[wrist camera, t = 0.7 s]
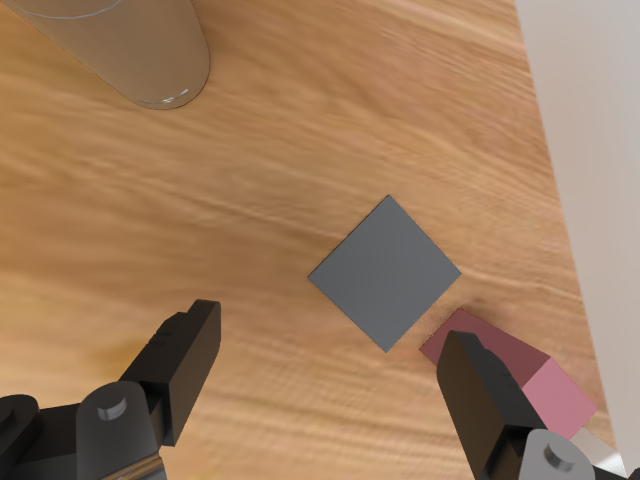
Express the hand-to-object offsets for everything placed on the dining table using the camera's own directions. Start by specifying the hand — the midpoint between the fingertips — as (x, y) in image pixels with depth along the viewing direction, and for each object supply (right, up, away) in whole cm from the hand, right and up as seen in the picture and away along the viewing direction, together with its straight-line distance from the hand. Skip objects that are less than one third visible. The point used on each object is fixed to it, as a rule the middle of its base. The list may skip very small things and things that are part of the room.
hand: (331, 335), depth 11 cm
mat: (+7, 0, +23) cm, 24 cm away
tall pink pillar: (+15, -9, +25) cm, 30 cm away
